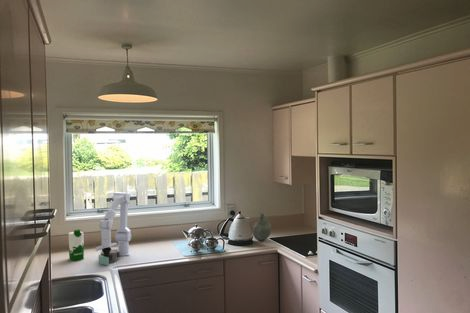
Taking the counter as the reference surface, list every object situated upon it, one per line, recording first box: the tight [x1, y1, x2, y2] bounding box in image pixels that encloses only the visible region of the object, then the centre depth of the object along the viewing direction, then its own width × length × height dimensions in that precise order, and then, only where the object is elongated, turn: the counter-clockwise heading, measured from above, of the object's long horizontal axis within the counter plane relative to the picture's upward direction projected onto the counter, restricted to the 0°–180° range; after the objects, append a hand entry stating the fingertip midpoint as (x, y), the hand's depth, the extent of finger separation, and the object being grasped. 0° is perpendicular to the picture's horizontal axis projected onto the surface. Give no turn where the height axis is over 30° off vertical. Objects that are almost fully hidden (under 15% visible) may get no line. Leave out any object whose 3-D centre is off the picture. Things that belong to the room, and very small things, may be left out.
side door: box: [98, 254, 110, 266], centre depth 243 cm, size 1×10×5 cm, turn 56°
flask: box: [252, 212, 272, 242], centre depth 300 cm, size 12×17×22 cm
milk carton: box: [68, 229, 85, 262], centre depth 253 cm, size 9×9×20 cm
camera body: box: [99, 248, 121, 263], centre depth 251 cm, size 8×12×6 cm
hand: (106, 259), depth 242 cm, fingers closed, pressing on side door
